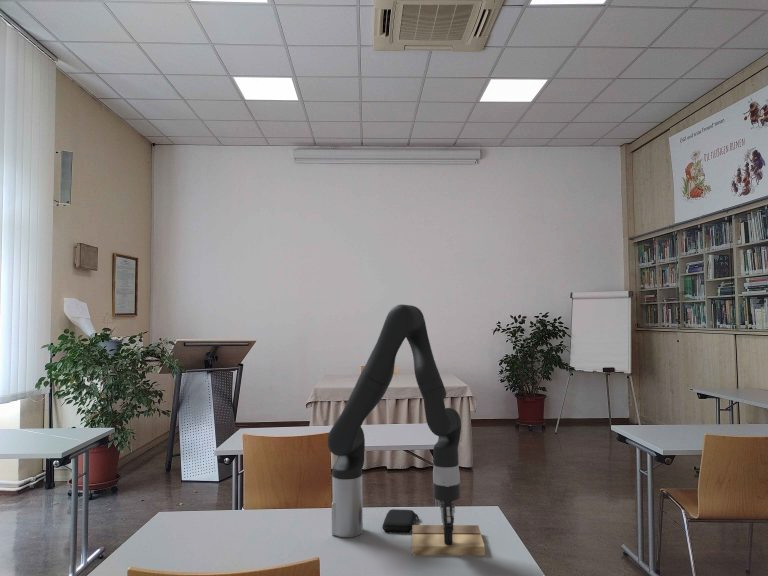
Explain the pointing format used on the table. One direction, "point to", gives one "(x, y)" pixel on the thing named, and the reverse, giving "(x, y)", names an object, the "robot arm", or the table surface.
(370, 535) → the table surface
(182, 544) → the table surface
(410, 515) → the carrying case or bag
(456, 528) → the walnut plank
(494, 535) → the table surface
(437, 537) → the oak plank
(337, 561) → the table surface
